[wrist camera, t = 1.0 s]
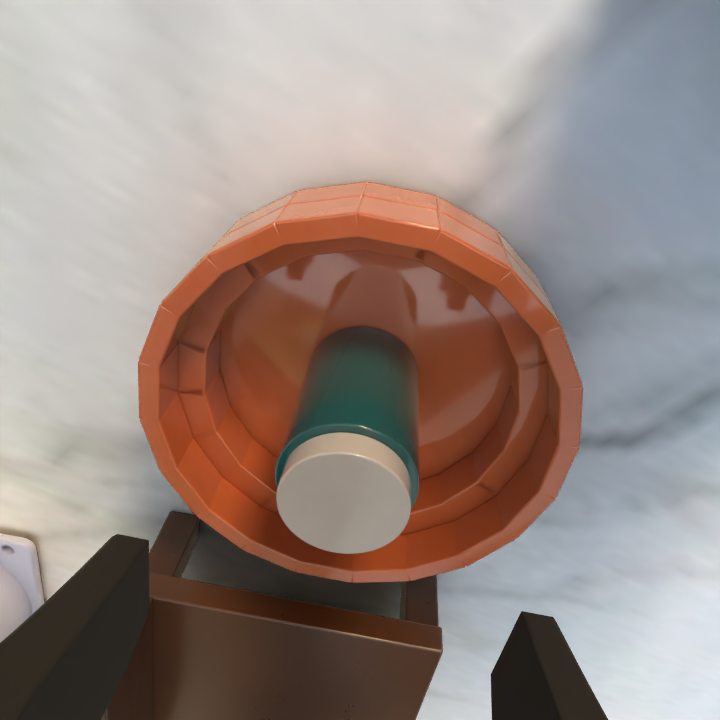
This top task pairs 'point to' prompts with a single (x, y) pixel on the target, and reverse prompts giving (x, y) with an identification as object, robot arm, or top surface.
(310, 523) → the salt shaker
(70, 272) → the top surface
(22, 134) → the top surface
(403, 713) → the chair
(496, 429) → the bowl
